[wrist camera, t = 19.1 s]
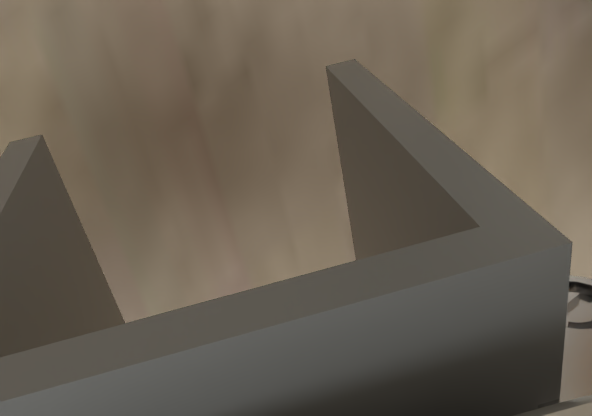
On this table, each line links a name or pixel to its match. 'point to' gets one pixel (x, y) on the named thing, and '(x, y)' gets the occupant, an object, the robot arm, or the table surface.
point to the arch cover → (302, 296)
